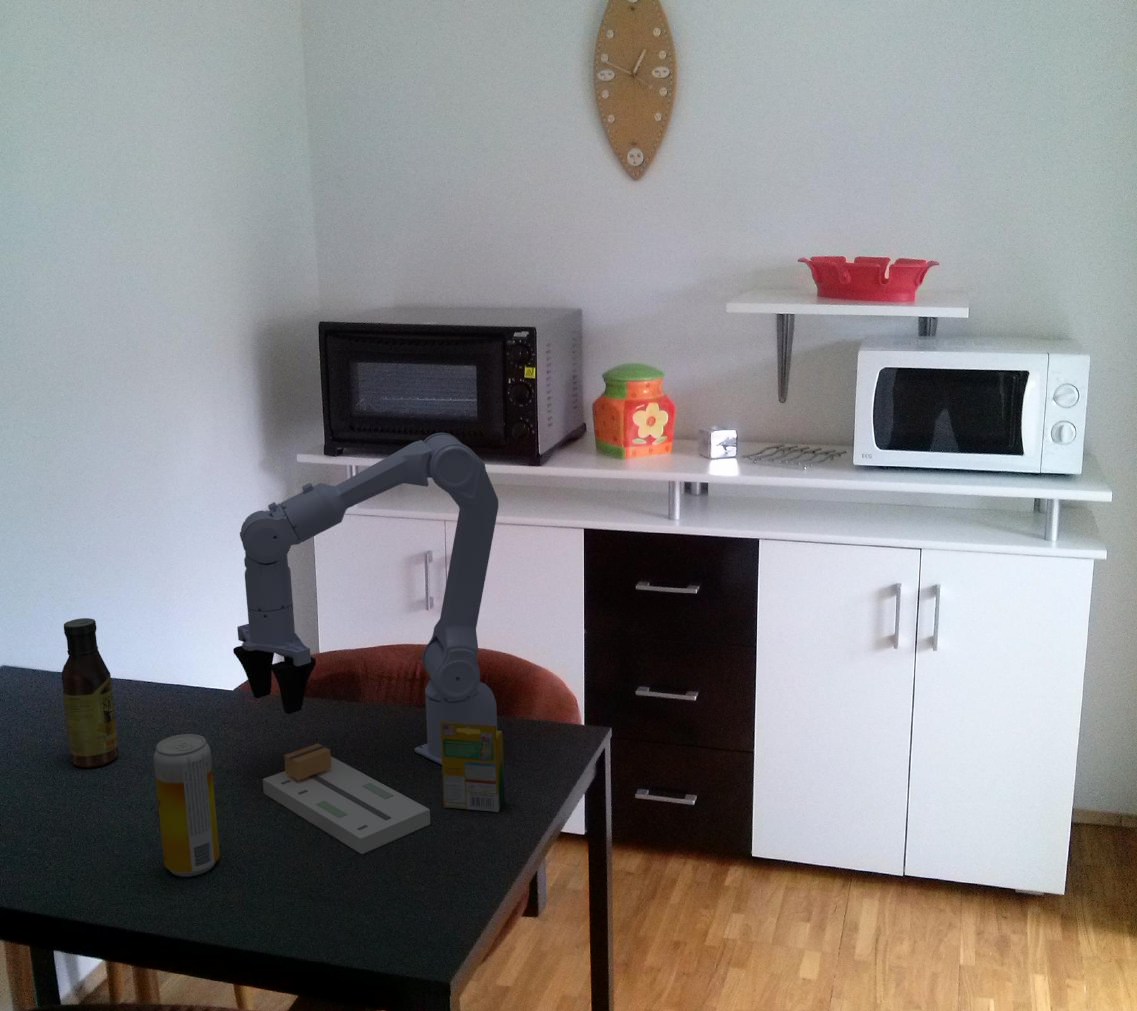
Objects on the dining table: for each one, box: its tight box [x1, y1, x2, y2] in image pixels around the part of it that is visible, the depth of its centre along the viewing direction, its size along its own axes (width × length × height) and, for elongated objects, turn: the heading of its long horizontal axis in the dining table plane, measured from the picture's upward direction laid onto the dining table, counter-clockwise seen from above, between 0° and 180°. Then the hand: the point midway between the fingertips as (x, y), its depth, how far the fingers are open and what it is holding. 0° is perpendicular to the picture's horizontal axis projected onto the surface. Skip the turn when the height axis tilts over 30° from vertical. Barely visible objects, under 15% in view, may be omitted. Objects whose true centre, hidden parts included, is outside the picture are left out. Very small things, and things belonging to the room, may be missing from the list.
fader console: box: [262, 756, 431, 855], centre depth 149 cm, size 10×22×2 cm, turn 44°
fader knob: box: [283, 743, 332, 780], centre depth 154 cm, size 5×3×3 cm, turn 134°
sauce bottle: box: [61, 617, 119, 768], centre depth 162 cm, size 6×6×20 cm
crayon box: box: [441, 722, 506, 813], centre depth 148 cm, size 7×3×12 cm, turn 78°
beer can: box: [153, 733, 220, 877], centre depth 135 cm, size 6×6×15 cm
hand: (277, 703), depth 156 cm, fingers open, 7 cm apart
